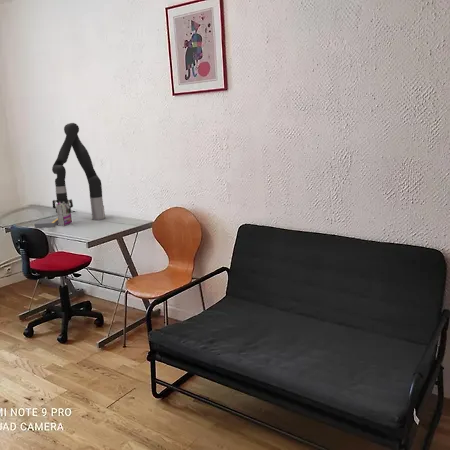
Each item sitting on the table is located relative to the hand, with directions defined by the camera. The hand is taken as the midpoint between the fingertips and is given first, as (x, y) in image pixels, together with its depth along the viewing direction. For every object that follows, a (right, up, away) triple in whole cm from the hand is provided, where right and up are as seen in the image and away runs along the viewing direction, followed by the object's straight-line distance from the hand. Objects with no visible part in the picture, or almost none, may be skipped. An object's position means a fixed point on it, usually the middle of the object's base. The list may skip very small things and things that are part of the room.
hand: (63, 213), depth 346 cm
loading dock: (-12, -9, +1) cm, 15 cm away
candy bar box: (+1, -8, +2) cm, 8 cm away
